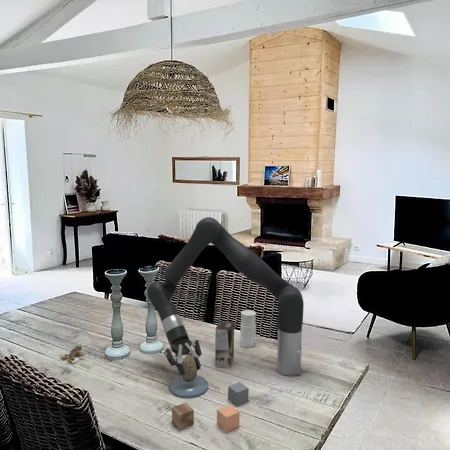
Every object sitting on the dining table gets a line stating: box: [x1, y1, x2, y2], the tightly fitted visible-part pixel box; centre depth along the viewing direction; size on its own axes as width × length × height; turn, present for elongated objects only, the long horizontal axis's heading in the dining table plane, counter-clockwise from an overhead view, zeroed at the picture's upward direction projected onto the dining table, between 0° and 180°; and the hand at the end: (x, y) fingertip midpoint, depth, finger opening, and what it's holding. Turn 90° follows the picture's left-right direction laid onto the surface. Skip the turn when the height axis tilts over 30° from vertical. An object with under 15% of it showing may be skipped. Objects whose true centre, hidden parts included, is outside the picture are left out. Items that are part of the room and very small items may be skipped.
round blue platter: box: [169, 375, 209, 399], centre depth 152 cm, size 14×14×1 cm
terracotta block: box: [216, 403, 240, 433], centre depth 130 cm, size 5×5×5 cm
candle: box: [239, 309, 257, 348], centre depth 187 cm, size 7×7×15 cm
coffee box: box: [214, 320, 235, 369], centre depth 170 cm, size 9×6×16 cm
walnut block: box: [171, 402, 195, 431], centre depth 131 cm, size 5×5×5 cm
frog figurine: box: [59, 345, 88, 366], centre depth 174 cm, size 12×12×4 cm
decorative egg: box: [180, 355, 198, 382], centre depth 151 cm, size 6×6×10 cm
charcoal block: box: [227, 381, 250, 407], centre depth 144 cm, size 5×5×5 cm
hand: (191, 371), depth 150 cm, fingers closed on decorative egg, 6 cm apart
